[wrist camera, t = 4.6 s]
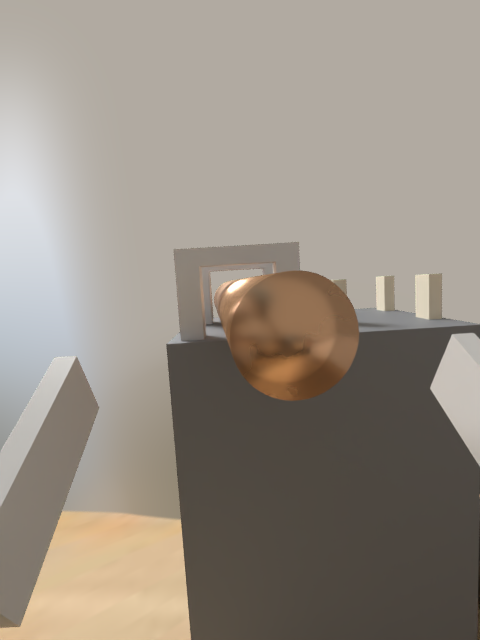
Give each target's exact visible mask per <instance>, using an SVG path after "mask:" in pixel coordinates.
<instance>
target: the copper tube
mask: <svg viewBox="0 0 480 640" xmlns="http://www.w3.org/2000/svg"><path fill="white" fill-rule="evenodd" d="M214 303H215V307H216V309H217V312H218V315H219V318H220V321H221V324H222V327H223V330H224V333H225V335H226V338H227V341H228V344H229V347H230V350H231V353H232V356H233V359H234V361H235V363H236V366H237V368H238V369H239V371H240V373H241V374H242V376H243V377H244V378H245V379H246V380H247V382H249V383H250V384H251V385H252V386H253V387H254V388H256V389H257V390H258V391H260V392H262V393H264V394H265V395H267V396H270V397H273V398H276V399H281V400H289V401H296V400H304V399H309V398H312V397H316V396H318V395H320V394H322V393H324V392H326V391H327V390H329V389H331V388H332V387H333V386H334V385H336V384H337V383H338V382H339V381H340V380H341V379H342V378H343V376H344V375H345V374H346V372H347V371H348V370H349V368H350V366H351V364H352V362H353V360H354V358H355V355H356V352H357V348H358V342H359V326H358V320H357V316H356V313H355V310H354V307H353V305H352V303H351V302H350V300H349V299H348V297H347V296H346V294H345V293H344V292H343V291H342V290H341V289H340V288H339V287H338V286H337V285H336V284H335V283H333V282H332V281H331V280H329V279H327V278H325V277H323V276H321V275H319V274H316V273H312V272H307V271H285V272H279V273H273V274H267V275H261V276H255V277H250V278H244V279H238V280H232V281H228V282H225V283H223V284H222V285H220V287H219V288H218V289H217V291H216V293H215V297H214Z"/></svg>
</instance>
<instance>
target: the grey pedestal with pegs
mask: <svg viewBox="0 0 480 640" xmlns="http://www.w3.org/2000/svg"><path fill="white" fill-rule="evenodd" d="M174 260H175V273H176V285H177V297H178V310H179V324H180V332H179V333H178V334H177V335H176V336H175V337H174V338H173V339H172V340H170V341H169V342H168V343H167V344H166V345H167V355H168V356H167V357H168V368H169V381H170V393H171V405H172V416H173V429H174V441H175V451H176V463H177V476H178V488H179V499H180V512H181V524H182V536H183V548H184V560H185V572H186V584H187V596H188V608H189V620H190V632H191V640H477V634H478V566H479V498H480V466H479V465H478V463H477V462H476V460H475V459H474V457H473V455H472V454H471V452H470V451H469V449H468V447H467V446H466V444H465V443H464V441H463V440H462V438H461V436H460V435H459V433H458V432H457V430H456V429H455V427H454V425H453V424H452V422H451V421H450V419H449V418H448V416H447V414H446V413H445V411H444V410H443V408H442V406H441V405H440V403H439V402H438V400H437V399H436V397H435V395H434V394H433V392H432V391H431V389H430V387H431V384H432V382H433V379H434V377H435V375H436V372H437V370H438V367H439V365H440V362H441V360H442V357H443V355H444V353H445V350H446V348H447V345H448V343H449V340H450V338H451V336H452V334H463V333H474V334H475V335H476V336H477V337H478V338H479V339H480V324H475V323H470V322H464V321H457V320H451V319H446V318H442V274H424V275H423V274H422V275H416V276H415V277H416V278H415V282H416V313H409V312H404V311H398V310H395V308H394V276H379V277H376V301H377V302H376V303H377V308H367V309H354V310H355V313H356V316H357V320H358V326H359V342H358V348H357V352H356V355H355V358H354V360H353V362H352V364H351V366H350V368H349V370H348V371H347V372H346V374H345V375H344V376H343V378H342V379H341V380H340V381H339V382H338V383H337V384H336V385H334V386H333V387H332V388H331V389H329V390H327V391H326V392H324V393H322V394H320V395H318V396H316V397H312V398H309V399H304V400H296V401H289V400H281V399H276V398H273V397H270V396H267V395H265V394H264V393H262V392H260V391H258V390H257V389H256V388H254V387H253V386H252V385H251V384H250V383H249V382H247V380H246V379H245V378H244V377H243V376H242V374H241V373H240V371H239V369H238V368H237V366H236V363H235V361H234V359H233V356H232V353H231V350H230V347H229V344H228V341H227V338H226V335H225V333H224V330H223V327H222V324H221V321H220V318H213V307H212V295H211V294H212V293H211V278H210V272H211V271H227V270H244V269H260V268H263V275H267V274H273V273H279V272H285V271H300V262H299V242H292V243H275V244H258V245H242V246H224V247H208V248H191V249H174ZM331 281H332V282H333V283H335V284H336V285H337V286H338V287H339V288H340V289H341V290H342V291H343V292H344V293H345V294H346V296H347V291H346V279H341V280H331Z"/></svg>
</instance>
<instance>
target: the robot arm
mask: <svg viewBox="0 0 480 640" xmlns="http://www.w3.org/2000/svg"><path fill="white" fill-rule="evenodd" d="M430 389H431V391H432V392H433V394H434V395H435V397H436V399H437V400H438V402H439V403H440V405H441V406H442V408H443V410H444V411H445V413H446V414H447V416H448V418H449V419H450V421H451V422H452V424H453V425H454V427H455V429H456V430H457V432H458V433H459V435H460V436H461V438H462V440H463V441H464V443H465V444H466V446H467V447H468V449H469V451H470V452H471V454H472V455H473V457H474V459H475V460H476V462H477V463H478V465H479V466H480V339H479V338H478V337H477V336H476V335H475V334H474V333H463V334H452V336H451V338H450V340H449V343H448V345H447V348H446V350H445V353H444V355H443V357H442V360H441V362H440V365H439V367H438V370H437V372H436V375H435V377H434V379H433V382H432V384H431V387H430ZM98 410H99V406H98V404H97V401H96V399H95V397H94V395H93V392H92V390H91V388H90V385H89V383H88V381H87V379H86V376H85V374H84V372H83V370H82V367H81V365H80V363H79V361H78V358H77V357H76V356H71V357H55V358H54V359H53V361H52V363H51V365H50V366H49V368H48V370H47V372H46V374H45V375H44V377H43V378H42V380H41V382H40V384H39V385H38V387H37V389H36V391H35V392H34V394H33V396H32V398H31V399H30V401H29V403H28V405H27V406H26V408H25V410H24V411H23V413H22V415H21V417H20V418H19V420H18V422H17V424H16V425H15V427H14V429H13V431H12V432H11V434H10V436H9V438H8V439H7V441H6V443H5V444H4V446H3V448H2V450H1V451H0V628H6V627H20V625H21V623H22V620H23V617H24V614H25V611H26V609H27V606H28V603H29V600H30V598H31V595H32V592H33V589H34V587H35V584H36V581H37V578H38V576H39V573H40V570H41V567H42V565H43V562H44V559H45V556H46V553H47V551H48V548H49V545H50V542H51V540H52V537H53V534H54V531H55V529H56V526H57V523H58V520H59V518H60V515H61V512H62V509H63V506H64V504H65V501H66V498H67V495H68V493H69V490H70V487H71V484H72V482H73V479H74V476H75V473H76V471H77V468H78V465H79V462H80V460H81V457H82V454H83V451H84V449H85V446H86V443H87V440H88V437H89V435H90V432H91V429H92V426H93V424H94V421H95V418H96V415H97V413H98Z"/></svg>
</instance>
